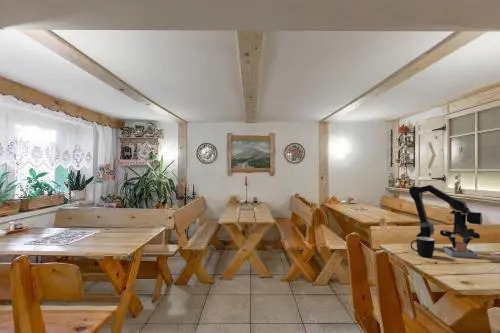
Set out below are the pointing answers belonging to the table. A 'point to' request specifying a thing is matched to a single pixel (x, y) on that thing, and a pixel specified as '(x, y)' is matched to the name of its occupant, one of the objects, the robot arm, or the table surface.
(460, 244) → the red block
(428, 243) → the mug
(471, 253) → the tray
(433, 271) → the table surface
